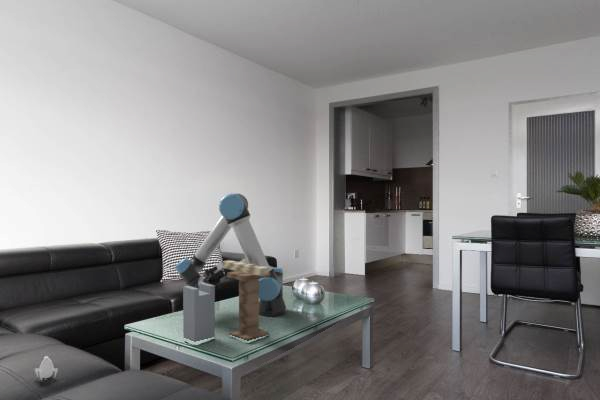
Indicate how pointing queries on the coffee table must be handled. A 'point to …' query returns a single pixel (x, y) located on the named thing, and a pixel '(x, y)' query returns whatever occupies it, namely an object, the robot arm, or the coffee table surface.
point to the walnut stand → (248, 306)
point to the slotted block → (199, 312)
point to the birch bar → (245, 267)
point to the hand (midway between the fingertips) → (234, 262)
